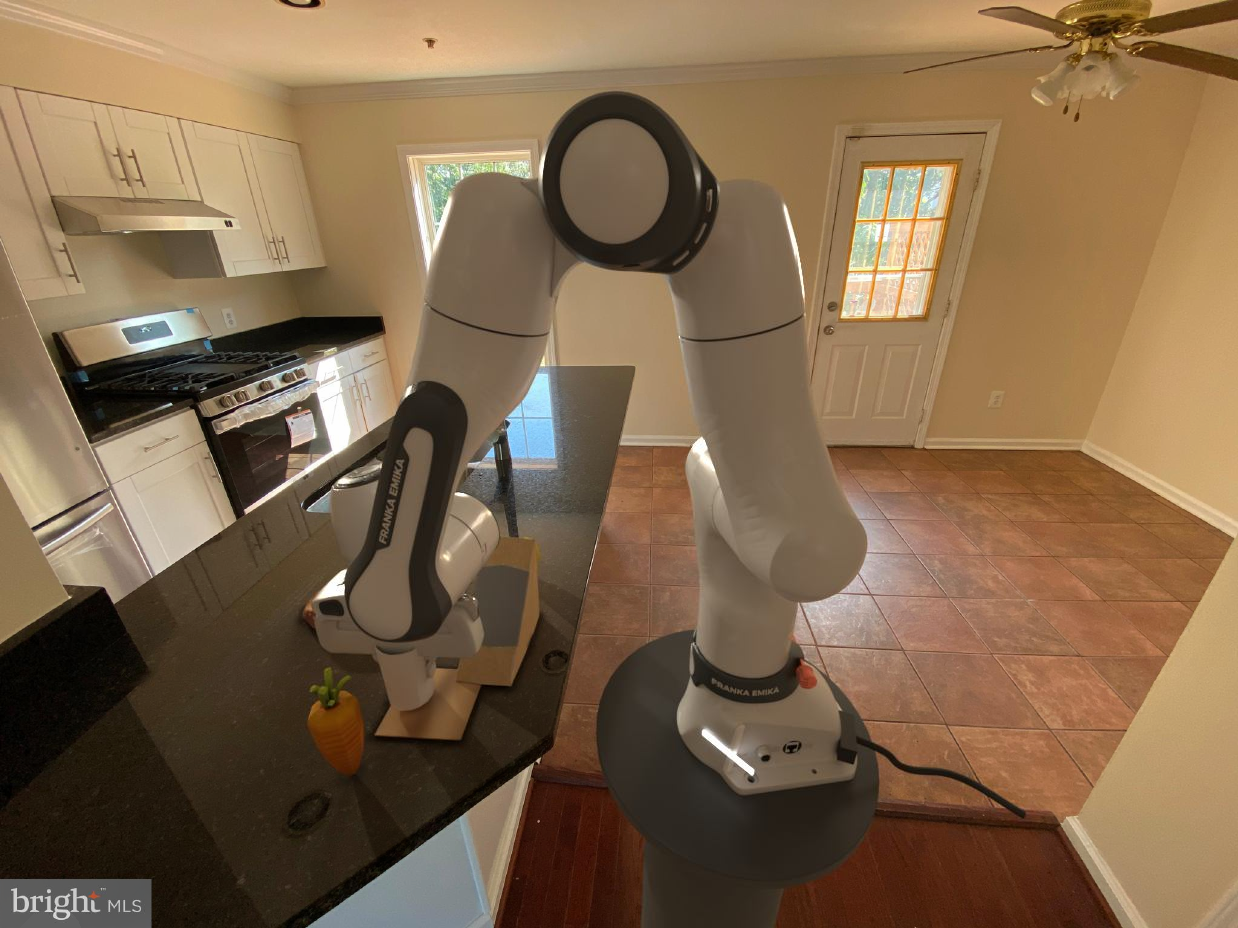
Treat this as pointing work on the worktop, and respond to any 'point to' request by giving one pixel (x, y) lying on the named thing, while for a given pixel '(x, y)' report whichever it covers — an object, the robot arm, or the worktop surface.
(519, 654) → the sandwich container
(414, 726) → the cork coaster
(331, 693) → the carrot
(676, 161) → the robot arm
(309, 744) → the worktop surface
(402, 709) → the white coffee cup
